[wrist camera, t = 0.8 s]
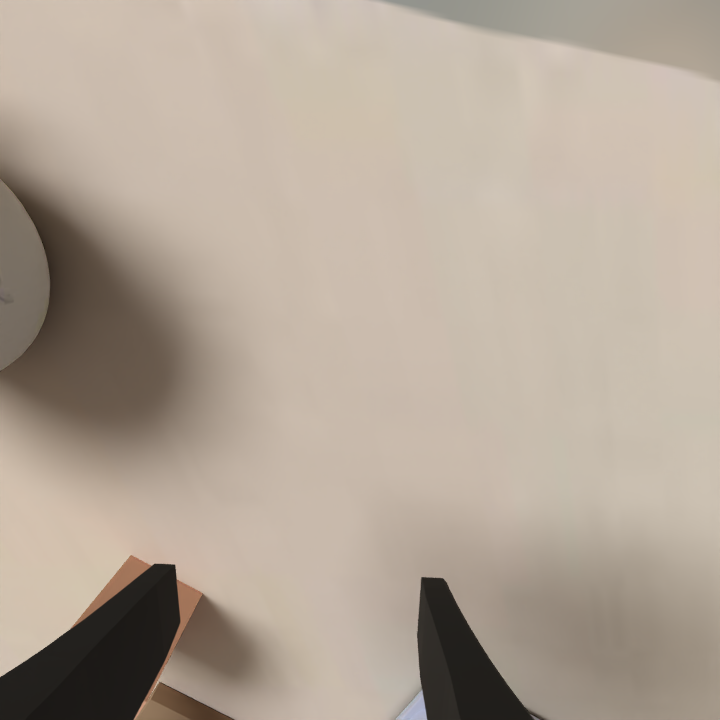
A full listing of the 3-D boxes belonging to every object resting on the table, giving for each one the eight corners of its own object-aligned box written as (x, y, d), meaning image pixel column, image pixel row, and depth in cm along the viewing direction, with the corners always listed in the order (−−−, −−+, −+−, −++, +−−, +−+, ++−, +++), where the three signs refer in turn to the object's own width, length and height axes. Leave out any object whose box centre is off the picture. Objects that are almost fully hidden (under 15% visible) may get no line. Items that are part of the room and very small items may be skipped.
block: (202, 592, 24) (146, 702, 18) (168, 645, 25) (104, 765, 19) (131, 554, 23) (49, 654, 18) (99, 609, 24) (12, 721, 19)
